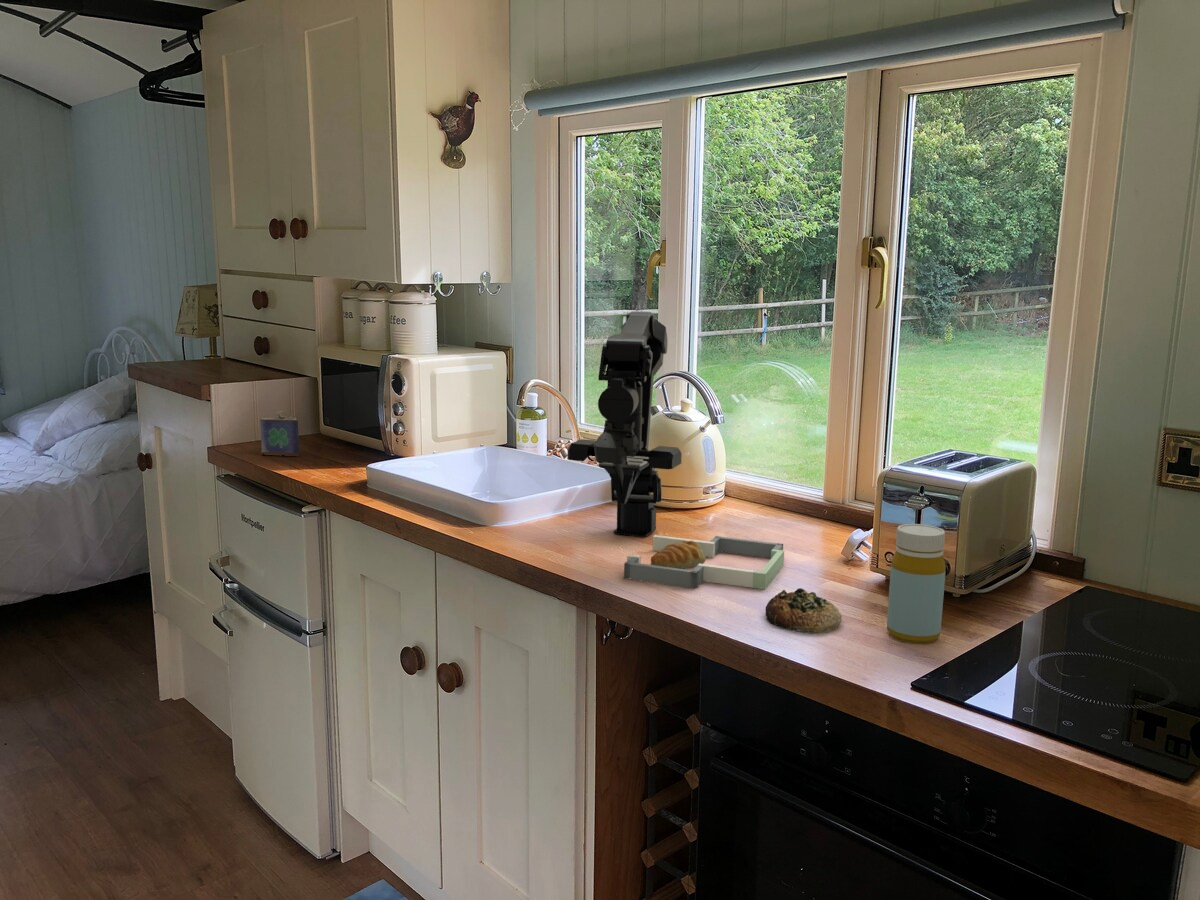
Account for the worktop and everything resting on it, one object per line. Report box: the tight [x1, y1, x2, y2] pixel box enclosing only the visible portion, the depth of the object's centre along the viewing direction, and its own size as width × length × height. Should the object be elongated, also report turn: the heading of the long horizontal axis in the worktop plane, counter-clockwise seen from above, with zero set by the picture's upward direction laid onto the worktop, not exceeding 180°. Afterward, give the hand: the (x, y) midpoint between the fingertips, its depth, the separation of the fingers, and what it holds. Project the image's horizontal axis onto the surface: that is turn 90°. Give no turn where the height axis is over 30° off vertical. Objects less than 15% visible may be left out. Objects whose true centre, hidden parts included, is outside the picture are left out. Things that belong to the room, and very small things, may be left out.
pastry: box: [649, 541, 706, 570], centre depth 166 cm, size 9×7×4 cm
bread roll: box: [765, 587, 843, 634], centre depth 141 cm, size 11×11×5 cm
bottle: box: [886, 523, 947, 645], centre depth 134 cm, size 7×7×15 cm
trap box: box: [623, 534, 785, 590], centre depth 164 cm, size 23×22×2 cm
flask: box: [259, 410, 301, 453], centre depth 253 cm, size 10×3×12 cm, turn 84°
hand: (623, 503), depth 168 cm, fingers closed
